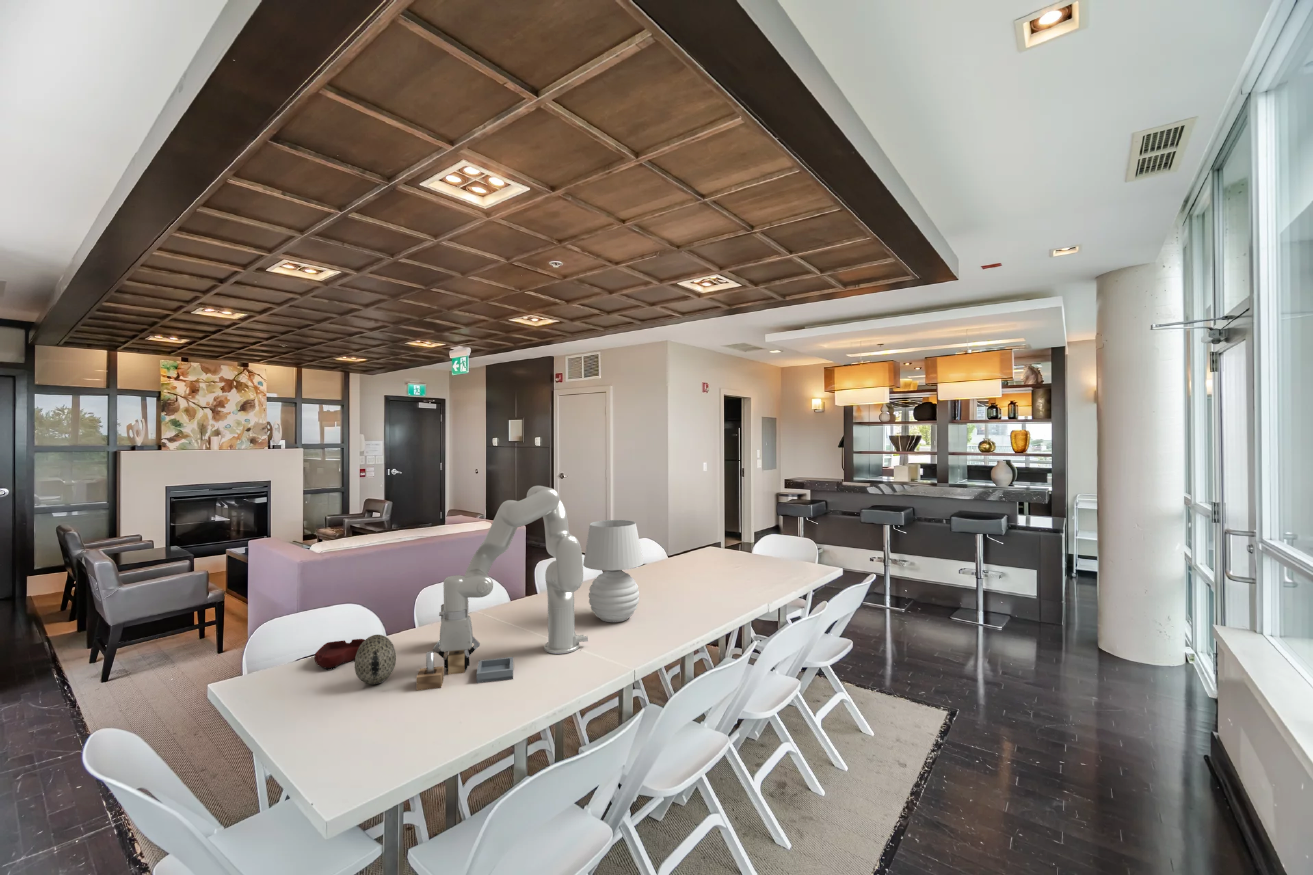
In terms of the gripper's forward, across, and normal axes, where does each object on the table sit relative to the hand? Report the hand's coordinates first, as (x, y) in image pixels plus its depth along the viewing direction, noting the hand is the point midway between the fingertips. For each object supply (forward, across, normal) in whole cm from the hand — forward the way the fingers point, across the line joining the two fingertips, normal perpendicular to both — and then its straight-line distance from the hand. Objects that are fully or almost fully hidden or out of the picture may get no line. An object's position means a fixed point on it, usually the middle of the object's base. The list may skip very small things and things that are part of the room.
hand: (457, 668), depth 189 cm
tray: (+1, +12, -6) cm, 14 cm away
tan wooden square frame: (+1, -7, -9) cm, 11 cm away
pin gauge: (+1, -7, -9) cm, 11 cm away
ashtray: (+1, -41, +22) cm, 46 cm away
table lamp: (+1, +59, +39) cm, 71 cm away
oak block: (+1, 0, 0) cm, 1 cm away
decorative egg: (+1, -24, -3) cm, 24 cm away
